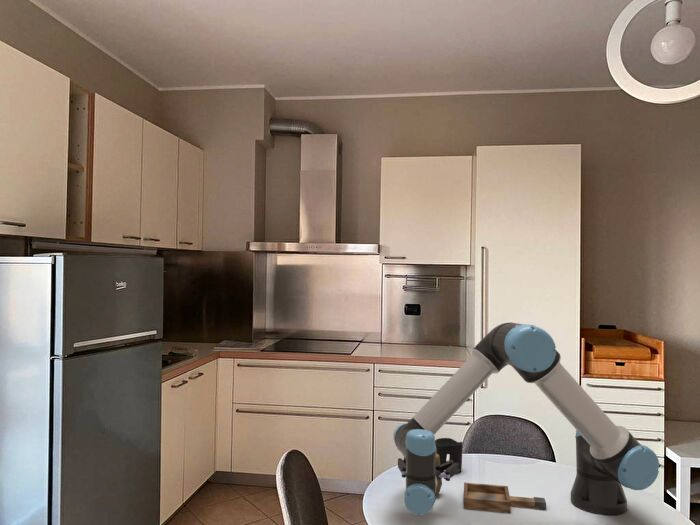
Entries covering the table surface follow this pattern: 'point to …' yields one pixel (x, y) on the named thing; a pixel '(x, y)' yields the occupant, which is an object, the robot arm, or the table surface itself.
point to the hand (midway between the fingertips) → (429, 457)
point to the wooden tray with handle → (497, 498)
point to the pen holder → (449, 450)
